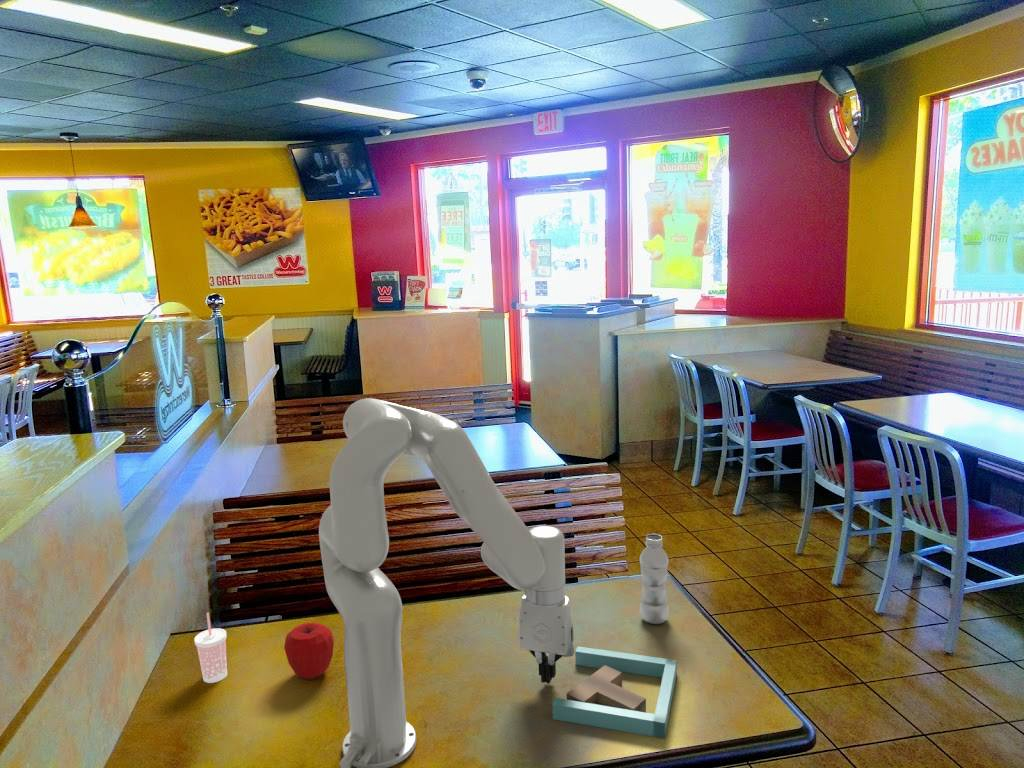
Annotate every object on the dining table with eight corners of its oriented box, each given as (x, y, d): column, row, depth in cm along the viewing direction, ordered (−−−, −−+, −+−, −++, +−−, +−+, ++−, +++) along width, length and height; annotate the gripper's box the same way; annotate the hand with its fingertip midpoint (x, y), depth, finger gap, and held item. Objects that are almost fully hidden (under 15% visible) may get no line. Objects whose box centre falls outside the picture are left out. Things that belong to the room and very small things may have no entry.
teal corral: (664, 738, 127) (664, 723, 126) (552, 719, 133) (552, 704, 132) (676, 674, 145) (676, 660, 145) (577, 659, 152) (577, 646, 151)
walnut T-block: (620, 735, 128) (620, 720, 128) (566, 707, 136) (566, 693, 136) (657, 703, 137) (657, 688, 136) (605, 678, 145) (604, 665, 144)
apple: (346, 671, 150) (342, 622, 148) (306, 694, 143) (301, 643, 141) (317, 655, 157) (312, 608, 154) (277, 676, 149) (272, 627, 147)
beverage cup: (218, 664, 154) (210, 603, 152) (237, 672, 151) (230, 609, 148) (192, 679, 149) (184, 616, 146) (212, 688, 146) (204, 623, 143)
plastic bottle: (647, 630, 162) (647, 544, 158) (634, 615, 169) (634, 533, 165) (674, 625, 164) (674, 540, 160) (660, 611, 170) (660, 529, 167)
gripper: (501, 595, 139) (504, 683, 142) (579, 606, 134) (580, 697, 137) (514, 578, 146) (517, 662, 149) (588, 587, 141) (589, 674, 144)
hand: (547, 679), depth 143 cm, fingers closed
